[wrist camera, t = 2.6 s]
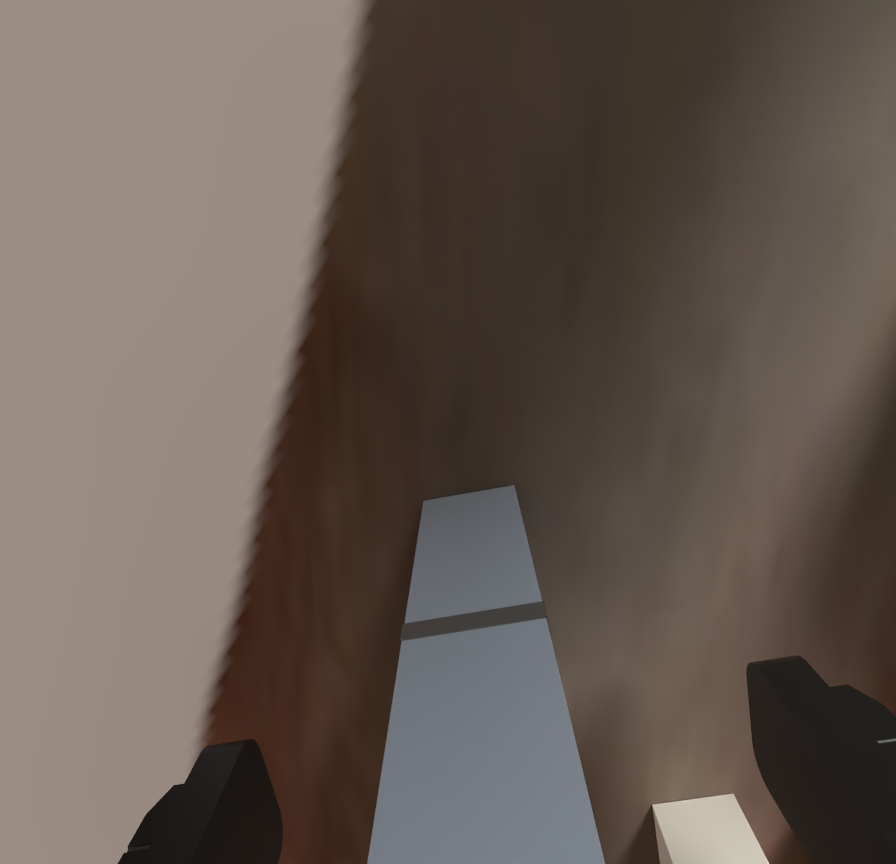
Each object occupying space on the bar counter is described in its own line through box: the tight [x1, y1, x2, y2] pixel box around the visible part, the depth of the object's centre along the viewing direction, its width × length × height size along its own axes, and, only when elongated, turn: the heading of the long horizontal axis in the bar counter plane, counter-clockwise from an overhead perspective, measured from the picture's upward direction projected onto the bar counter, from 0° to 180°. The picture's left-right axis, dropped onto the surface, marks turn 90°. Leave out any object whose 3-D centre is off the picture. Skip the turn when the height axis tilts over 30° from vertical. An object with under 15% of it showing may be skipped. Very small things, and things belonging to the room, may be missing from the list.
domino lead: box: [367, 485, 605, 864], centre depth 9 cm, size 5×2×10 cm, turn 11°
